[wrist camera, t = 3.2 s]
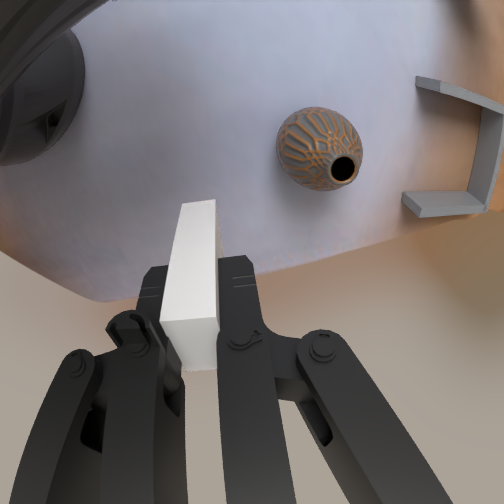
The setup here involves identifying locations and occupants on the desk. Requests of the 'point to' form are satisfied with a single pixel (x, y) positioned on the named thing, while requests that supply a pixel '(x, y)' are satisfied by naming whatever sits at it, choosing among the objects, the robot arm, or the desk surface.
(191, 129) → the desk surface
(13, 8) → the robot arm
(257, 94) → the desk surface
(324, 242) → the desk surface
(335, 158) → the vase
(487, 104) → the box
